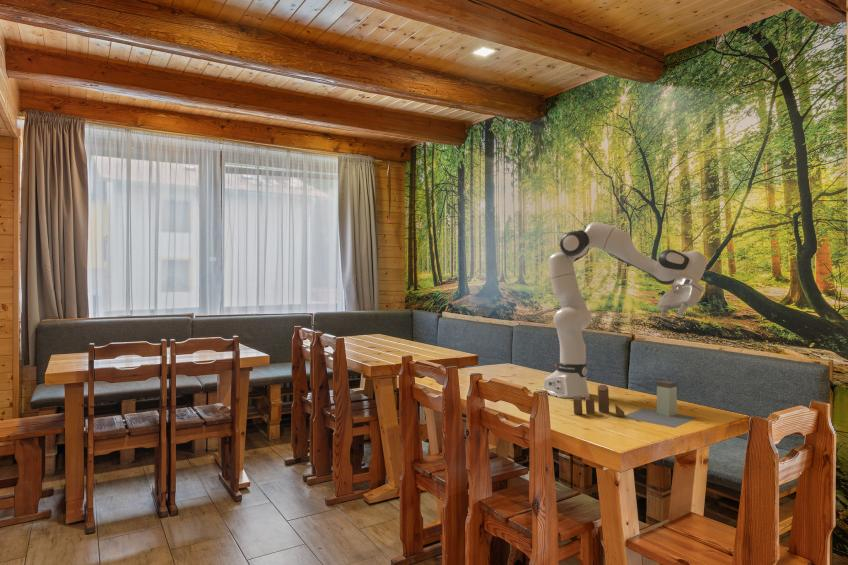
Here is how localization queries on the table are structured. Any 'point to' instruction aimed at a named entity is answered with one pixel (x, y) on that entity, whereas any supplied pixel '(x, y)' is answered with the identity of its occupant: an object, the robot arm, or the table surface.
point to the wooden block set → (602, 403)
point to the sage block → (667, 398)
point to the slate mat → (658, 418)
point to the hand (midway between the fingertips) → (670, 316)
